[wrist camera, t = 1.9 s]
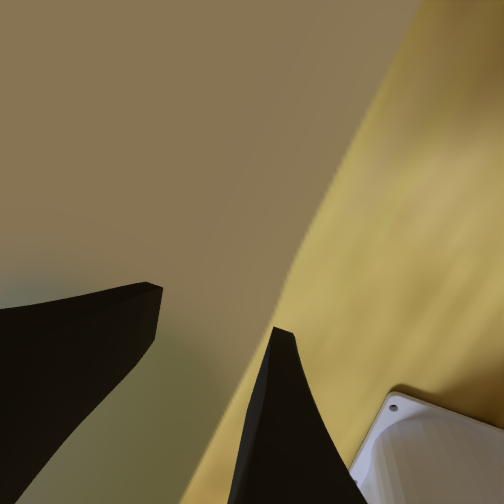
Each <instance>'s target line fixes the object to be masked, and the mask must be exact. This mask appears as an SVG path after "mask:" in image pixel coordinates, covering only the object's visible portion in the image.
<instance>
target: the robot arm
mask: <svg viewBox="0 0 504 504" xmlns="http://www.w3.org/2000/svg"><path fill="white" fill-rule="evenodd" d="M162 292H163V287H160V286H157V285H154V284H151V283H148V282H141V283H135V284H130V285H125V286H121V287H116V288H112V289H107V290H104V291H99V292H95V293H90V294H85V295H81V296H76V297H71V298H66V299H60V300H55V301H50V302H45V303H39V304H33V305H27V306H20V307H13V308H5V309H0V504H15V503H16V501H17V500H18V499H19V497H20V496H21V495H22V494H23V492H24V491H25V490H26V488H27V487H28V486H29V485H30V483H31V482H32V481H33V479H34V478H35V477H36V475H37V474H38V473H39V472H40V471H41V470H42V468H43V467H44V466H45V465H46V463H47V462H48V461H49V460H50V458H51V457H52V456H53V455H54V453H55V452H56V451H57V450H58V449H59V447H60V446H61V445H62V444H63V442H64V441H65V440H66V439H67V438H68V437H69V436H70V434H71V433H72V432H73V431H74V430H75V429H76V428H77V426H78V425H79V424H80V423H81V422H82V421H83V420H84V419H85V418H86V417H87V416H88V415H89V414H90V413H91V412H92V411H93V410H94V409H95V408H96V407H97V405H99V404H100V402H102V400H103V399H104V398H105V397H106V396H107V395H108V394H109V393H110V392H111V391H112V390H113V389H114V388H115V387H116V386H117V385H118V384H119V383H120V382H121V381H122V380H123V379H124V378H125V376H126V375H127V374H128V373H129V372H130V371H131V370H132V369H133V368H134V367H135V366H136V365H137V363H138V362H139V361H140V359H141V358H142V357H143V355H144V354H145V352H146V351H147V350H148V348H149V347H150V346H151V344H152V343H153V341H154V340H155V334H156V328H157V322H158V316H159V310H160V305H161V299H162ZM391 405H396V406H395V407H390V406H391ZM227 504H504V430H502V429H500V428H497V427H494V426H491V425H489V424H486V423H483V422H480V421H477V420H475V419H472V418H469V417H466V416H464V415H461V414H458V413H455V412H453V411H450V410H447V409H444V408H442V407H439V406H436V405H433V404H430V403H428V402H425V401H422V400H419V399H417V398H414V397H411V396H408V395H406V394H403V393H400V392H396V391H394V392H391V393H389V394H388V395H387V397H386V399H385V401H384V403H383V405H382V407H381V409H380V411H379V413H378V415H377V417H376V418H375V420H374V422H373V424H372V426H371V428H370V430H369V432H368V434H367V436H366V438H365V440H364V442H363V443H362V445H361V447H360V449H359V451H358V453H357V455H356V457H355V459H354V461H353V463H352V465H351V467H350V468H349V470H348V469H347V468H346V466H345V464H344V462H343V460H342V459H341V457H340V455H339V453H338V451H337V449H336V447H335V445H334V443H333V441H332V439H331V437H330V435H329V433H328V431H327V429H326V427H325V425H324V422H323V420H322V418H321V416H320V413H319V411H318V408H317V406H316V404H315V401H314V399H313V396H312V394H311V391H310V388H309V385H308V382H307V380H306V377H305V374H304V371H303V368H302V364H301V361H300V357H299V354H298V350H297V345H296V340H295V336H294V334H293V333H291V332H288V331H285V330H282V329H279V328H277V327H273V330H272V333H271V336H270V339H269V342H268V345H267V348H266V351H265V355H264V358H263V361H262V364H261V367H260V370H259V373H258V376H257V379H256V383H255V386H254V389H253V392H252V395H251V399H250V402H249V405H248V408H247V413H246V417H245V422H244V427H243V432H242V437H241V441H240V446H239V451H238V456H237V461H236V466H235V470H234V475H233V480H232V485H231V490H230V494H229V498H228V502H227Z"/></svg>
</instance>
